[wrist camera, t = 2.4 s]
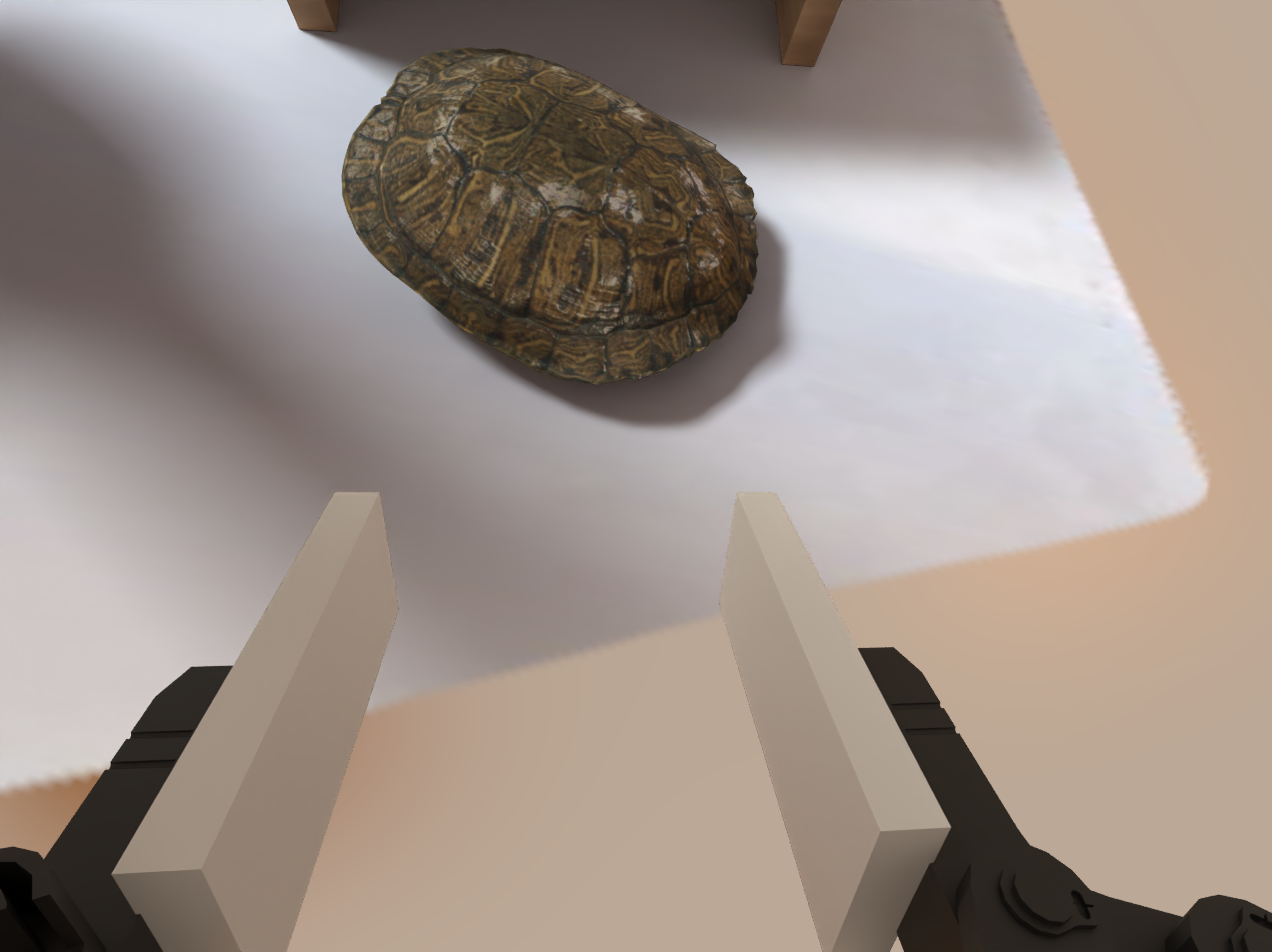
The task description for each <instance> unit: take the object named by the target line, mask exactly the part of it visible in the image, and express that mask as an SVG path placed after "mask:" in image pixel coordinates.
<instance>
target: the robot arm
mask: <svg viewBox="0 0 1272 952" xmlns="http://www.w3.org/2000/svg"><path fill="white" fill-rule="evenodd" d="M719 605H720V608H721V612H722V615H723V618H724V622H725V625H726V628H727V632H728V635H729V638H730V642H731V645H732V648H733V652H734V655H735V659H736V662H737V665H738V669H739V672H740V675H741V679H742V682H743V686H744V689H745V692H746V696H747V699H748V702H749V705H750V709H751V712H752V715H753V719H754V722H755V726H756V729H757V732H758V736H759V739H760V743H761V746H762V749H763V753H764V756H765V760H766V763H767V766H768V770H769V773H770V776H771V780H772V783H773V786H774V790H775V793H776V796H777V800H778V803H779V806H780V810H781V813H782V817H783V820H784V823H785V827H786V830H787V833H788V837H789V840H790V844H791V847H792V850H793V854H794V857H795V860H796V864H797V867H798V870H799V874H800V877H801V881H802V884H803V887H804V891H805V894H806V897H807V901H808V904H809V907H810V911H811V914H812V918H813V921H814V924H815V928H816V931H817V934H818V938H819V941H820V945H821V948H822V951H823V952H890V950H891V948H892V946H893V944H894V942H895V940H896V938H897V936H898V937H899V940H900V942H901V945H902V947H903V950H904V952H1272V913H1270V912H1268V911H1266V910H1264V909H1262V908H1260V907H1258V906H1256V905H1254V904H1252V903H1250V902H1248V901H1245V900H1242V899H1237V898H1232V897H1227V896H1223V895H1216V896H1210V897H1206V898H1201V899H1199V900H1198V901H1197V902H1196V903H1195V904H1194V905H1193V907H1192V908H1191V909H1190V910H1189V911H1188V913H1186V914H1185V916H1184V917H1181V916H1177V915H1174V914H1170V913H1166V912H1162V911H1159V910H1155V909H1152V908H1148V907H1144V906H1141V905H1137V904H1133V903H1129V902H1125V901H1122V900H1118V899H1114V898H1111V897H1108V896H1105V895H1102V894H1099V893H1097V892H1094V891H1091V890H1090V889H1089V888H1088V887H1087V886H1086V885H1085V884H1084V883H1083V882H1082V881H1081V880H1080V878H1078V876H1077V875H1076V874H1075V873H1074V872H1073V871H1072V870H1071V869H1070V868H1068V867H1067V866H1065V865H1064V864H1063V863H1061V862H1060V861H1058V860H1057V859H1056V858H1054V857H1053V856H1051V855H1050V854H1049V853H1047V852H1045V851H1043V850H1040V849H1038V848H1035V847H1033V846H1030V845H1029V844H1028V842H1027V841H1026V839H1025V838H1024V837H1023V835H1022V834H1021V833H1020V831H1019V830H1018V829H1017V827H1016V825H1015V823H1014V822H1013V820H1012V819H1011V817H1010V815H1009V814H1008V812H1007V811H1006V809H1005V807H1004V806H1003V804H1002V802H1001V801H1000V799H999V797H998V796H997V794H996V793H995V791H994V790H993V788H992V786H991V784H990V783H989V781H988V779H987V778H986V776H985V775H984V773H983V771H982V770H981V768H980V766H979V765H978V763H977V762H976V760H975V758H974V757H973V755H972V753H971V752H970V750H969V748H968V747H967V745H966V744H965V742H964V740H963V739H962V737H961V736H960V734H957V733H956V731H955V726H954V724H953V722H952V721H951V719H950V717H949V716H948V714H947V713H946V711H945V709H944V708H941V707H940V701H939V699H938V698H937V696H936V695H935V693H934V691H933V690H932V688H931V686H930V685H929V683H928V681H927V680H926V678H925V677H924V675H923V673H922V672H921V671H920V670H919V669H918V668H916V667H915V666H914V665H913V664H912V663H910V661H908V660H907V659H906V658H905V657H904V656H903V655H902V654H900V653H899V652H898V651H897V650H896V649H895V648H894V647H888V648H887V647H885V648H857V646H856V645H855V643H854V641H853V639H852V637H851V635H850V633H849V631H848V629H847V627H846V625H845V624H844V622H843V620H842V618H841V616H840V614H839V612H838V610H837V608H836V606H835V605H834V602H833V601H832V599H831V597H830V595H829V593H828V591H827V589H826V587H825V585H824V583H823V581H822V580H821V578H820V576H819V574H818V572H817V570H816V568H815V566H814V564H813V562H812V560H811V559H810V557H809V555H808V553H807V551H806V549H805V547H804V545H803V543H802V541H801V539H800V537H799V536H798V534H797V532H796V530H795V528H794V526H793V524H792V522H791V520H790V518H789V516H788V515H787V513H786V511H785V509H784V507H783V505H782V503H781V501H780V499H779V497H778V495H777V493H737V494H736V501H735V507H734V513H733V520H732V526H731V533H730V539H729V546H728V552H727V558H726V565H725V571H724V578H723V584H722V590H721V597H720V603H719ZM398 610H399V609H398V602H397V596H396V590H395V584H394V578H393V571H392V565H391V559H390V553H389V547H388V541H387V534H386V528H385V522H384V516H383V510H382V503H381V497H380V492H335V493H334V495H333V496H332V498H331V500H330V501H329V503H328V505H327V507H326V508H325V510H324V512H323V513H322V515H321V517H320V518H319V520H318V522H317V524H316V525H315V527H314V529H313V530H312V532H311V534H310V536H309V537H308V539H307V541H306V542H305V544H304V546H303V548H302V549H301V551H300V553H299V554H298V556H297V558H296V560H295V561H294V563H293V565H292V566H291V568H290V570H289V571H288V573H287V575H286V577H285V578H284V580H283V582H282V583H281V585H280V587H279V589H278V590H277V592H276V594H275V595H274V597H273V599H272V601H271V602H270V604H269V606H268V607H267V609H266V611H265V612H264V614H263V616H262V618H261V619H260V621H259V623H258V624H257V626H256V628H255V630H254V631H253V633H252V635H251V636H250V638H249V640H248V642H247V643H246V645H245V647H244V648H243V650H242V652H241V653H240V655H239V657H238V659H237V660H236V662H235V664H234V665H233V666H204V667H191V668H189V669H188V670H187V671H186V672H185V673H183V674H182V675H181V676H180V677H179V678H177V679H176V680H175V681H174V682H173V683H171V684H170V685H169V686H168V687H167V688H165V689H164V690H163V691H162V692H160V693H159V694H158V695H157V696H156V697H155V698H154V699H153V701H152V702H151V704H150V705H149V707H148V708H147V710H146V711H145V712H144V714H143V715H142V717H141V718H140V720H139V721H138V723H137V724H136V726H135V727H134V729H133V730H132V731H131V737H130V739H126V740H125V742H124V743H123V745H122V746H121V748H120V749H119V750H118V752H117V753H116V755H115V756H114V758H113V759H112V761H111V767H110V769H109V770H105V771H104V772H103V774H102V775H101V777H100V778H99V780H98V781H97V783H96V784H95V785H94V787H93V788H92V790H91V791H90V793H89V794H88V796H87V797H86V799H85V800H84V802H83V803H82V804H81V806H80V807H79V809H78V810H77V812H76V814H75V815H74V816H73V818H72V819H71V821H70V822H69V823H68V825H67V826H66V828H65V829H64V831H63V832H62V834H61V835H60V837H59V838H58V840H57V841H56V843H55V844H54V845H53V847H52V848H51V850H50V851H49V853H48V854H47V856H46V857H45V859H43V858H42V857H41V855H40V854H39V853H38V852H34V851H30V850H26V849H21V848H17V847H8V848H2V849H0V952H287V949H288V946H289V942H290V939H291V936H292V933H293V930H294V927H295V924H296V921H297V918H298V915H299V912H300V909H301V906H302V903H303V900H304V897H305V893H306V891H307V888H308V885H309V882H310V878H311V875H312V872H313V869H314V866H315V863H316V860H317V857H318V854H319V851H320V848H321V845H322V842H323V839H324V836H325V833H326V829H327V827H328V824H329V821H330V817H331V814H332V811H333V808H334V805H335V802H336V799H337V796H338V793H339V790H340V787H341V784H342V781H343V778H344V775H345V772H346V768H347V766H348V763H349V760H350V757H351V754H352V751H353V747H354V744H355V741H356V738H357V735H358V732H359V729H360V726H361V723H362V720H363V717H364V714H365V711H366V708H367V705H368V702H369V699H370V696H371V693H372V690H373V686H374V683H375V680H376V677H377V674H378V671H379V668H380V665H381V662H382V659H383V656H384V653H385V650H386V647H387V644H388V641H389V638H390V635H391V632H392V629H393V626H394V622H395V619H396V616H397V613H398Z"/></svg>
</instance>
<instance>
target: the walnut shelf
mask: <svg viewBox="0 0 1272 952" xmlns="http://www.w3.org/2000/svg"><path fill="white" fill-rule="evenodd" d="M841 1H842V0H776V8H777V18H778V28H779V38H780V48H781V58H782V64H786V65H800V66H814V65H815V63H816V60H817V58H818V56H819V53H820V51H821V48H822V46H823V44H824V41H825V39H826V37H827V34H828V32H829V30H830V27H831V25H832V23H833V20H834V18H835V15H836V13H837V11H838V8H839V6H840V4H841ZM287 2H288V4H289V6H290V9H291V11H292V13H293V16H294V18H295V20H296V23H297V25H298V27H299V29H306V30H320V31H333V32H336V29H337V21H338V13H339V4H340V0H287Z"/></svg>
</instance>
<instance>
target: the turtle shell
mask: <svg viewBox="0 0 1272 952" xmlns="http://www.w3.org/2000/svg"><path fill="white" fill-rule="evenodd" d="M386 93H387V96H385V97H383V98H381V104H379V105H376V106H374V107H373V108H372V110H371V111H370V112H369V114H368V115H367V116H366V118H365V119H364V120H363V122H362V123H361V124H360V126H359V127H358V128H357V129H356V131H355V132H354V133H353V135H352V138H351V141H350V143H349V146H348V149H347V153H346V156H345V160H344V164H343V170H342V195H343V199H344V202H345V206H346V209H347V212H348V214H349V217H350V219H351V221H352V224H353V226H354V228H355V231H356V233H357V235H358V236H359V238H360V239H361V241H362V242H363V244H364V245H365V246H366V248H367V249H368V250H369V251H370V252H371V254H372V255H373V256H374V257H375V258H376V259H377V260H378V261H379V262H380V263H381V264H382V265H383V266H384V267H385V268H386V269H387V270H389V271H390V272H391V273H392V274H393V275H395V276H396V277H397V278H398V279H400V280H401V281H402V282H404V283H405V284H406V285H408V286H409V287H410V288H411V289H413V290H414V291H415V292H417V293H418V294H419V295H420V296H422V297H423V298H424V299H425V300H426V301H428V302H429V303H430V304H431V305H432V306H433V307H435V308H436V309H437V310H438V311H439V312H441V313H442V314H443V315H444V316H446V317H447V318H448V319H449V320H451V321H452V322H453V323H455V324H456V325H457V326H459V327H460V328H462V329H463V330H465V331H467V332H469V333H471V334H473V335H475V336H476V337H477V338H478V339H480V340H481V341H483V342H485V343H486V344H488V345H490V346H492V347H494V348H496V349H497V350H499V351H501V352H503V353H505V354H507V355H509V356H511V357H513V358H515V359H517V360H519V361H521V362H522V363H524V364H526V365H528V366H530V367H531V368H533V369H535V370H537V371H538V372H546V373H549V374H551V375H553V376H555V377H557V378H561V379H564V380H570V381H578V382H584V383H593V384H597V385H599V384H602V383H606V382H612V381H618V380H621V379H624V378H629V379H633V380H635V379H640V378H644V377H647V376H649V375H651V374H653V373H656V372H659V371H663V370H665V369H668V368H669V367H671V366H672V365H674V364H675V363H677V362H678V361H680V360H682V359H684V358H690V357H691V356H692V354H693V353H694V352H695V351H701V350H703V349H704V348H705V347H707V346H708V345H709V344H710V343H711V342H712V341H714V340H717V339H720V338H721V337H722V335H723V334H724V332H725V331H726V330H727V329H728V328H729V327H730V326H731V325H732V324H733V323H734V322H735V321H736V319H737V315H738V312H739V310H740V309H741V308H742V306H743V305H744V303H745V302H746V300H747V294H752V291H753V289H754V287H753V283H754V280H755V277H756V273H757V267H756V258H757V256H758V250H757V245H756V241H755V240H756V238H757V236H758V233H757V231H756V225H755V224H754V222H753V220H754V218H755V216H756V215H757V213H756V211H755V209H754V205H753V198H754V193H753V190H752V188H751V187H750V186H748V185H747V184H746V183H745V181H746V179H747V178H746V177H745V176H744V175H743V174H742V173H741V172H740V170H739V168H738V167H736V166H735V165H734V164H732V163H731V162H729V161H728V160H727V159H725V158H724V157H723V156H722V155H720V154H719V153H718V152H717V150H716V145H715V144H713V143H712V142H710V141H708V140H706V139H704V138H702V137H700V136H698V135H697V134H695V133H694V132H692V131H690V130H688V129H685V128H683V127H681V126H679V125H677V124H675V123H673V122H671V121H669V120H668V119H665V118H663V117H661V116H659V115H657V114H655V113H653V112H651V111H649V110H648V109H646V108H644V107H642V106H641V105H639V104H638V103H637V102H635V101H633V100H632V99H630V98H628V97H625V96H623V95H621V94H619V93H617V92H615V91H614V90H612V89H610V88H608V87H607V86H605V85H603V84H602V83H600V82H598V81H596V80H594V79H592V78H590V77H588V76H585V75H583V74H580V73H577V72H575V71H572V70H570V69H568V68H566V67H563V66H561V65H559V64H556V63H553V62H549V61H545V60H542V59H538V58H535V57H533V56H531V55H527V54H523V53H518V52H514V51H510V50H505V49H487V50H484V49H477V48H460V49H447V50H442V51H437V52H433V53H431V54H428V55H426V56H424V57H422V58H420V59H418V60H416V61H414V62H412V63H411V64H409V65H407V66H405V67H404V69H403V70H402V71H400V72H398V74H397V76H396V78H395V80H394V82H393V84H392V86H391V87H390V88H389V90H388V91H387V92H386Z"/></svg>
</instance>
